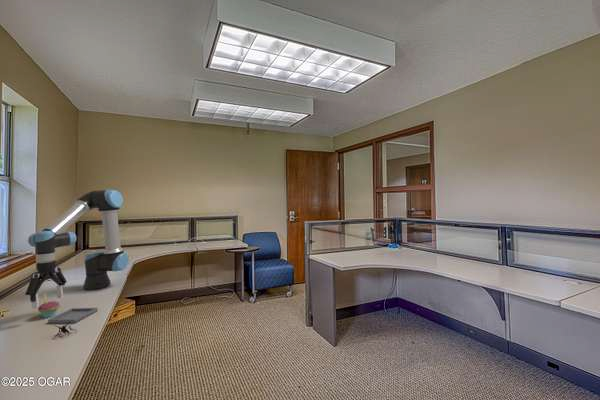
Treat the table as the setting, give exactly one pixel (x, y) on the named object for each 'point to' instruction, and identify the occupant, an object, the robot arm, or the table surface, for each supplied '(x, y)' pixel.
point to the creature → (64, 330)
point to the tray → (73, 315)
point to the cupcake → (48, 308)
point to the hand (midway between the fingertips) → (48, 302)
